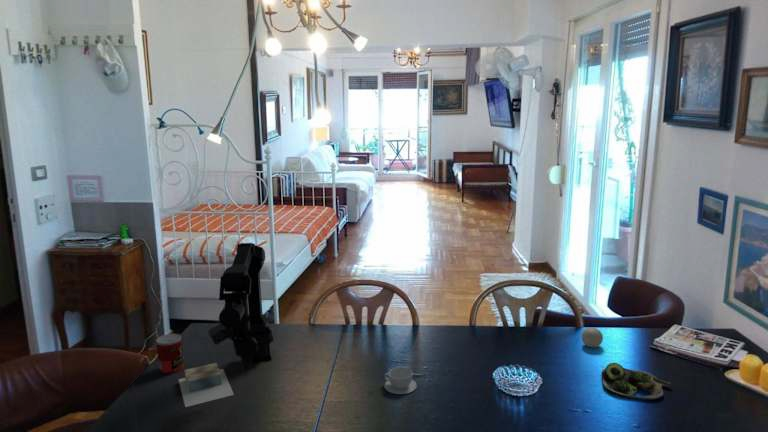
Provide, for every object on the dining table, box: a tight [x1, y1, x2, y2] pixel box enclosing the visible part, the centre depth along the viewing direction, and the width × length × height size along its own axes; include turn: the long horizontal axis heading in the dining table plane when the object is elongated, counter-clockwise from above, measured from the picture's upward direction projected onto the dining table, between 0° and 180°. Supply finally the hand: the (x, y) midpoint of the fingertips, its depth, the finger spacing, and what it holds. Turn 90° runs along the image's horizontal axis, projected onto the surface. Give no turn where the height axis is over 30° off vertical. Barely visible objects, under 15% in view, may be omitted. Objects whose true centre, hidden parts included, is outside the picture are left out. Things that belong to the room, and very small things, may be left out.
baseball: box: [581, 327, 604, 349], centre depth 191 cm, size 7×7×7 cm
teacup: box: [383, 366, 418, 395], centre depth 169 cm, size 10×10×5 cm
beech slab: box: [184, 362, 222, 392], centre depth 173 cm, size 10×4×8 cm
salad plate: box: [600, 362, 672, 400], centre depth 166 cm, size 19×18×5 cm
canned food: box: [155, 333, 185, 375], centre depth 182 cm, size 8×8×11 cm
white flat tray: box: [178, 368, 235, 408], centre depth 171 cm, size 14×18×1 cm
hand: (242, 362), depth 161 cm, fingers open, 9 cm apart
